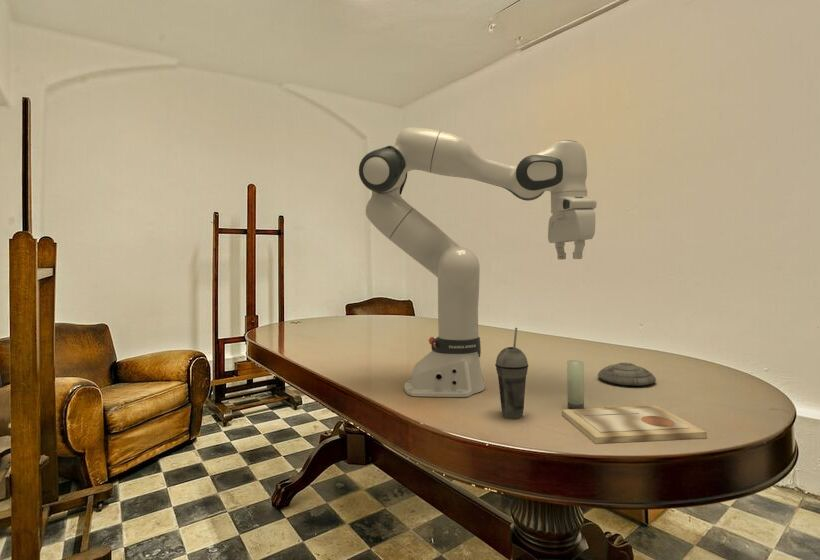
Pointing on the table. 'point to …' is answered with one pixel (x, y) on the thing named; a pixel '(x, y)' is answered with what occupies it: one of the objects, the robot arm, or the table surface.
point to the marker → (575, 384)
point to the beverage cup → (512, 380)
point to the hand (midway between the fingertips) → (569, 259)
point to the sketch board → (631, 424)
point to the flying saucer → (626, 374)
